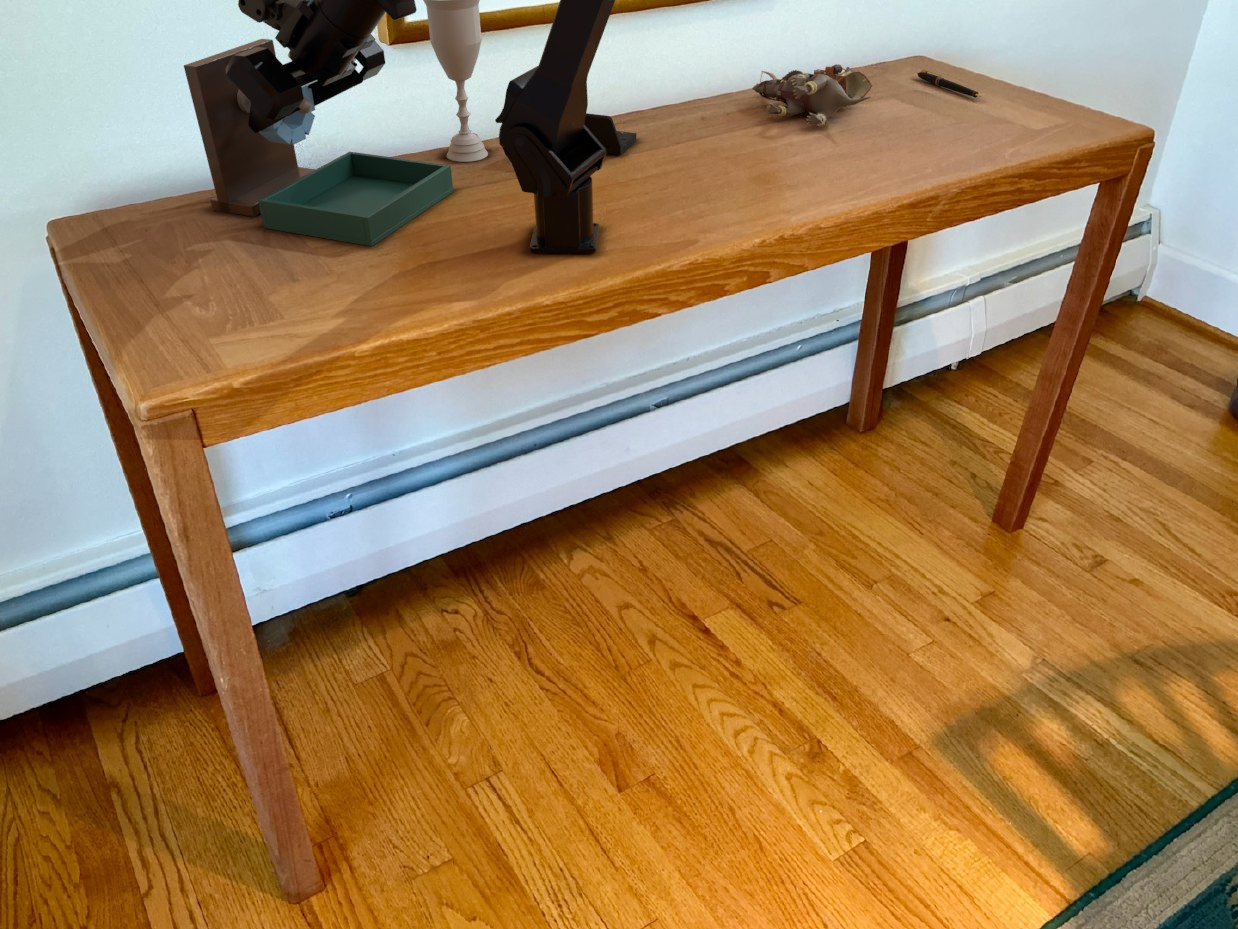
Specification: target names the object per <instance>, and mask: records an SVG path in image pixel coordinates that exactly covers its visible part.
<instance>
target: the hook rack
mask: <svg viewBox="0 0 1238 929" xmlns="http://www.w3.org/2000/svg"><path fill="white" fill-rule="evenodd" d="M256 47H261V48H268V49H269V50H270V51H271V52H272V53H273V54H274V56H275V57H276V58H277V54H276V49H275V45H274V40H273V39H269V38H260V39H257V40H254V41H250V42H248V43H245V44H243V45H239V46H236V47H234V48H231V49H227V50H225V51H222V52H219V53H216V54H213V55H209V56H207V57H204V58H201V59H199V60H195V61H192V62H189V63H187V64H184V65H183V69H184V73H185V78H186V81H187V85H188V88H189V93H190V97H191V101H192V104H193V108H194V113H195V116H196V121H197V124H198V128H199V132H200V136H201V140H202V144H203V149H204V153H205V156H206V159H207V163H208V164H207V165H208V168H209V172H210V176H211V179H212V183H213V187H214V191H215V197H212V198H211V199H210V203H211V208H212V210H213V211H215V212H216V211H217V212H222V213H223V212H224V213H229V214H236V215H241V216H246V217H247V216H248V217H253V218H254V217H256V216H258V215H261V212H260V208H259V203H258V200H259V199H261V198H263V197H265V196H267V195H269V194H271V193H272V192H274V191H276V190H278V189H280V188H282V187H284V186H286V185H288V184H289V183H291V182H293V181H295V180H297V179H299V178H301V177H303V176H305V175H306V174H308V173H310V172H312V171H314V170H316V169H317V168H310V167H309V168H308V167H301V166H299V165H298V160H297V154H296V149H295V144H294V145H290V144H282V143H275V142H270V141H269V140H267V139H266V138H265V137H264V136H262V135H261V134H260V133H259V132H258V133H255V132H254V131H253V130H252V129H251V128H250V127H249V125H248V123H249V114H250V103H251V101H250V100H249V99H248V98H247V97H246V96H245V95H244V94H243V93H242V92H241V91H240V89H239V88H238V87H237V86H236V85H235V84H234V83H233V82H232V81H231V80H230V79H229V78H228V77H227V75H226V67H227V65H228V64H229V62H230V60H231V59H232V57H233V55H236V54H238V53H241V52H244V51H247V50H250V49H253V48H256ZM298 107H299V108H300V111H298V113H300V114H307V113H308V112H309V111H310V110H311V103H310V101H309V100H308V99H307V98H306V97H304V99H303V101H302V102H301V104H300V105H299V106H298ZM282 121H284V119H283V120H282Z"/></svg>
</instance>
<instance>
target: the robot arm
mask: <svg viewBox="0 0 1238 929" xmlns="http://www.w3.org/2000/svg"><path fill="white" fill-rule="evenodd" d="M237 2H238V3H237V5H238V8H239V11H240V12H241V13H242V14H243V15H246V17H248V18H250V19H252V20H254V21H255V22H256V23H258V24H259V23H264V24H265V25H267V26H269V27H270V28H272V29H274V30H276V31H278V32H277V34H276V35H275V37H274V39H275V40H276V41H277V42H278V44H280V45H281V46H282V48H283V49H284V48H287V49H288V50H289V52H288V53H287V57H288V58H289V59H290V60H291V61H289V62H286V63H284V64H283V63H282V62H281V61H280V60H279V58H278V57H277V56H276V57H275V56H274V54H273V53H272V52H271V51H270V50H269V49H268V48H261V47H256V48H253V49H250V50H247V51H244V52H241V53H238V54H236V55H233V57H232V59H231V60H230V62H229V64H228V65H227V67H226V75H227V77H228V78H229V79H230V80H231V81H232V82H233V83H234V84H235V85H236V86H237V87H238V88H239V89H240V91H241V92H242V93H243V94H244V95H245V96H246V97H247V98H248V99H249V100H250V101H251V105H250V114H249V123H248V125H249V127H250V128H251V129H252V130H253V131H254V132H255V133H258V132H260V131H262V130H264V129H266V128H268V127H270V126H271V125H273V124H275V123H277V122H279V121H281V120H283V119H285V118H287V117H289V116H291V115H293V114H295V113H296V112H298V111H300V108H299V107H298V106H299V105H300V104H301V102H302V101H303V99H304V97H303V92H302V87H304V86H307V85H308V88H311V89H312V94H313V100H314V105H315V107H316V106H319V105H320V104H322V103H324V102H326V101H328V100H331V99H332V98H334V97H336V96H339V95H341V94H343V93H345V92H346V91H348V90H351V89H353V88H355V87H356V86H359V85H361V84H362V83H363V82H364V81H366V80H368V79H370V78H373V77H375V76H377V75H378V74H379V73H380V71H381V70H382V69H383V68H384V66H385V65H386V59H385V58H386V57H385V51H384V49H383V48H382V47H381V45H380V44H379V43H378V42H377V40H376V37H375V36H373V34H372V33H373V32H374V30H376V28H377V27H378V25H379V24H380V22H381V20H383V18H384V16H385V15H386V14H387V15H388V16H389V17H390V18H391V19H392V20H393V21H397V20H401V19H403V18H406V17H408V16H411V15H414V14H416V12H417V10H418V9H417V6H416V1H415V0H238V1H237ZM615 2H616V0H559V3H558V6H557V10H556V11H555V14H554V18H553V20H552V24H551V27H550V29H549V33H548V36H547V38H546V42H545V45H544V48H543V51H542V54H541V57H540V60H539V63H538V65H536V66H534V67H533V68H531V69H529V70H528V71H525V72H524V73H522V74H520V75H518V76H517V77H515V78H512V79H511V80H509V82H508V84H507V88H506V91H505V96H504V104H503V107H502V110H501V112H500V114H499V115H498V116H497V117H496V118H495V121H494V122H495V123H496V124H501V125H500V127H499V133H498V142H499V146H500V147H501V148H502V150H503V153H504V154H505V157H507V159H508V161H509V162H510V163H511V166H512V169H513V171H514V174H515V176H516V179H517V181H518V184H519V187H520V189H521V191H522V192H523V193H528V194H533V199H534V200H533V202H534V218H535V225H534V229H533V232H532V235H531V239H530V240H531V241H530V243H529V251H530V252H531V253H560V254H561V253H563V254H564V253H565V254H566V253H568V254H569V253H571V254H572V253H573V254H574V253H579V254H580V253H581V254H582V253H584V254H592V253H595V252H597V247H598V241H599V240H598V239H599V231H600V224H599V223H597V222H594V198H593V177H592V176H593V174H595V173H596V172H598V171H600V170H601V169H602V167H603V165H604V161H605V159H606V155H607V153H606V152H607V151H606V149H605V148H604V147H603V145H602V144H601V143H600V142H599V141H598V140H597V138H596V137H595V136H594V135H593V134H592V133H591V132H590V130H589V129H588V128H587V127H586V126H585V125H584V122H585V117H586V113H587V112H588V105H589V100H588V98H589V97H588V76H589V73H590V70H591V67H592V65H593V62H594V59H595V56H596V54H597V51H598V48H599V46H600V43H601V40H602V37H603V35H604V32H605V29H606V27H607V24H608V21H609V19H610V16H611V13H612V11H613V8H614V5H615ZM356 61H357V62H356ZM358 63H359V64H360V65H361V67H362V68H361V70H360V71H359V72H358V70H357V69H356V68H357V67H358Z"/></svg>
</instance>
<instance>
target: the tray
mask: <svg viewBox="0 0 1238 929" xmlns="http://www.w3.org/2000/svg"><path fill="white" fill-rule="evenodd" d="M315 169H316V170H314V171H312V172H310V173H308V174H306V175H305V176H303V177H301V178H299V179H297V180H295V181H293V182H291V183H289V184H288V185H286V186H284V187H282V188H280V189H278V190H276V191H274V192H272V193H271V194H269V195H267V196H265V197H263V198H261V199H259V200H258V203H259V208H260V212H261V213H260V216H261V220H262V223H263V224H262V225H263V229H268V230H273V231H280V232H285V233H291V234H298V235H303V236H309V237H315V238H319V239H320V238H322V239H326V240H333V241H339V242H345V243H349V244H350V243H351V244H356V245H363V246H368V247H374V246H375V245H377V244H378V243H379V242H381V241H382V240H384V239H385V238H387V237H388V236H390V235H391V234H393V233H394V232H396V231H397V230H399V229H401V227H403V226H404V225H406V224H407V223H409V222H411V221H412V220H414V219H415V218H417V217H418V216H419V215H421V214H422V213H424V212H425V211H427V210H428V209H430V208H431V207H433V206H435V204H437V203H439V202H440V201H442V200H443V199H444V198H447V197H448V196H449V195H450V194H452V193H453V192H454V186H453V177H452V166H451V165H450V164H443V163H437V162H431V161H430V162H429V161H421V160H416V159H415V160H414V159H408V158H407V159H406V158H399V157H392V156H385V155H377V154H370V153H363V152H357V151H355V152H354V151H348V152H346V153H344V154H342V155H340V156H339V157H337V158H335V159H333V160H331V161H329V162H327V163H325V164H323V165H321V166H320V167H317V168H315Z"/></svg>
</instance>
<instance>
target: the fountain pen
mask: <svg viewBox="0 0 1238 929" xmlns="http://www.w3.org/2000/svg"><path fill="white" fill-rule="evenodd" d="M916 75H917V76H918V78H920V79H921V80H923V81H925V82H927V83H929V84H931V85H935V86H937V87H942V88H945V89H947V90H950V91H953V92H956V93H959V94H962V95H965V96H969V97H973V98H974V99H975V98H981V97H982V98H985V96H983V95H982V94H980V93H979V91H976V90H974V89H971V88H969V87H966V86H963V85H962V84H960V83H957V82H954V81H951V80H949V79H945V78H944V77H942V74H940V73H936V72H933V71H930V70H926V69H921V71H919V72H917V73H916Z"/></svg>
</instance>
